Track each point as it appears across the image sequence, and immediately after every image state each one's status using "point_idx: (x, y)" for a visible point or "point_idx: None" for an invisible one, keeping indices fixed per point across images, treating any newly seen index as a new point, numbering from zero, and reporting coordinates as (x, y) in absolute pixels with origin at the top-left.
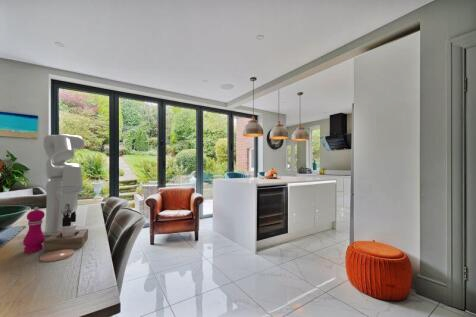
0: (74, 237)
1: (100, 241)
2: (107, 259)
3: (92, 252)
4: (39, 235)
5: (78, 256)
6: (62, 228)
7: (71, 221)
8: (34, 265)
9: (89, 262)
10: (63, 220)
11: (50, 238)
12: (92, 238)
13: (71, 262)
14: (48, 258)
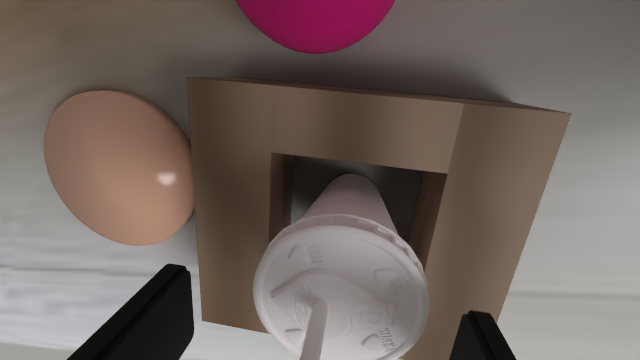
0: (213, 280)
1: None
2: (35, 344)
3: None
4: (248, 2)
5: (98, 258)
6: (277, 236)
7: (454, 353)
8: (25, 84)
9: (18, 292)
10: (106, 335)
11: (267, 113)
12: None
13: (31, 234)
14: (56, 140)
